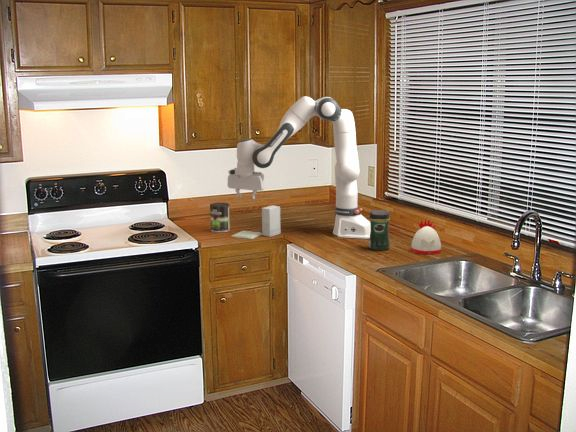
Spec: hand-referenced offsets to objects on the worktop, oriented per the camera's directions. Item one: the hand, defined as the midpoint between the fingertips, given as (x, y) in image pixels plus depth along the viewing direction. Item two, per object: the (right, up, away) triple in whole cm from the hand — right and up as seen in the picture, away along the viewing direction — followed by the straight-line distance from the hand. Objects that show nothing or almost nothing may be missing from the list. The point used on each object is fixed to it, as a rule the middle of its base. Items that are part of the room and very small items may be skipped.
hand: (246, 198), depth 333 cm
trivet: (0, -19, +4) cm, 20 cm away
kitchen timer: (+86, -26, -27) cm, 94 cm away
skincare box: (+13, -19, +5) cm, 24 cm away
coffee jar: (+65, -25, -23) cm, 73 cm away
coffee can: (-15, -17, +16) cm, 28 cm away
